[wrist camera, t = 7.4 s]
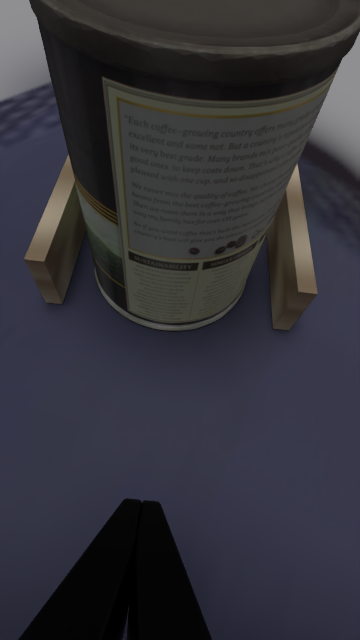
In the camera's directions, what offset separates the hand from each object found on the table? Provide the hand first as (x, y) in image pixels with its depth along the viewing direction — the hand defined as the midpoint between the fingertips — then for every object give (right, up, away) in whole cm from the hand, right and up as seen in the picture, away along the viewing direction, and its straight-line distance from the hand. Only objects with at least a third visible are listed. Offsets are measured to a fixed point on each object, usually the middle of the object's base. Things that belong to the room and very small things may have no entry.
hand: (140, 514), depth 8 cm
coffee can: (0, +8, +15) cm, 17 cm away
